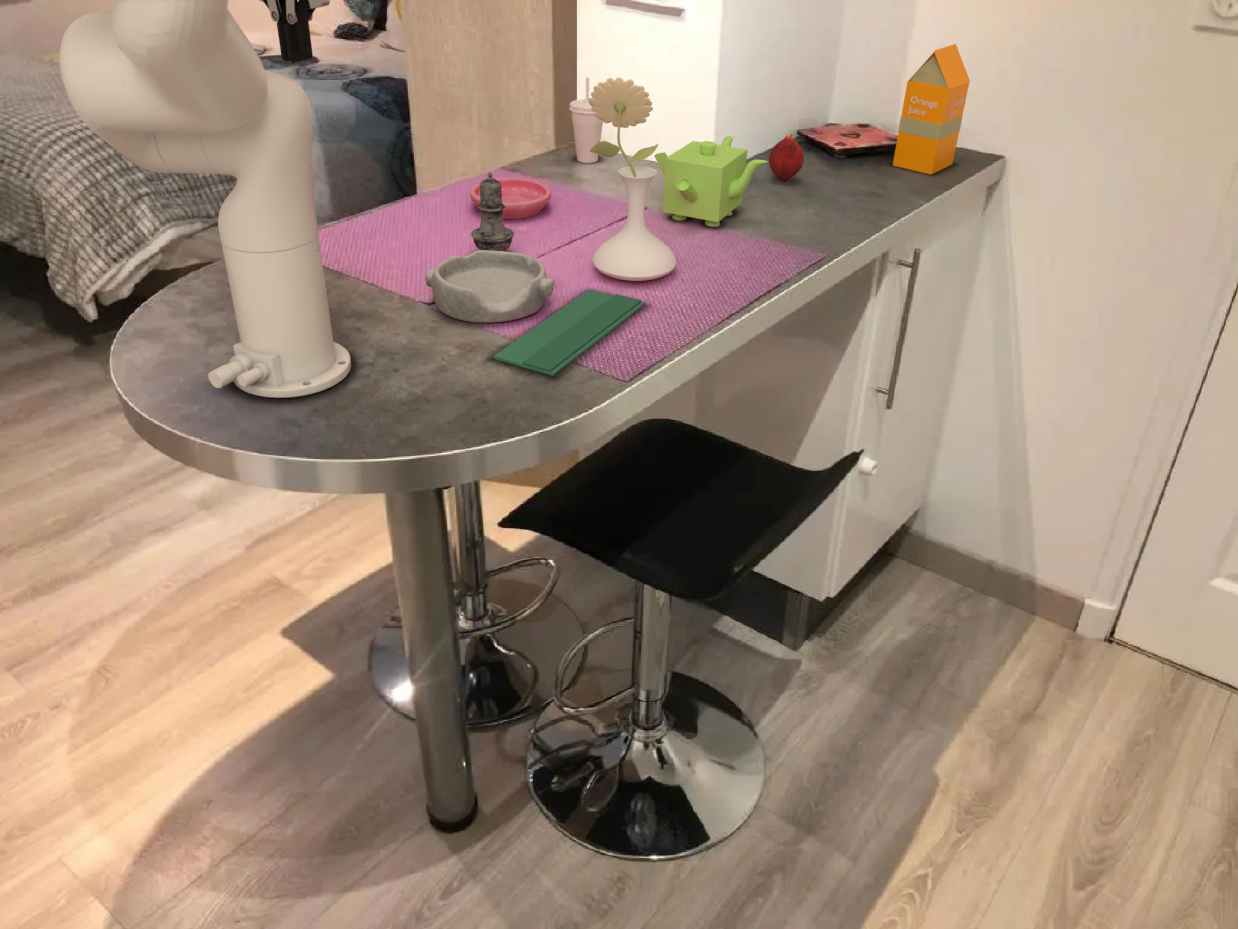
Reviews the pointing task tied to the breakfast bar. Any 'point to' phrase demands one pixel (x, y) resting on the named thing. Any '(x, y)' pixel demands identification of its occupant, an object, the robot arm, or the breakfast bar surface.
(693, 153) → the kettle
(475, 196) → the saucer
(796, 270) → the breakfast bar surface
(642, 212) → the flower in vase
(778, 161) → the onion
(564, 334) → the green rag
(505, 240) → the salt shaker
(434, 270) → the dish
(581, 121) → the smoothie
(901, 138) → the orange juice
